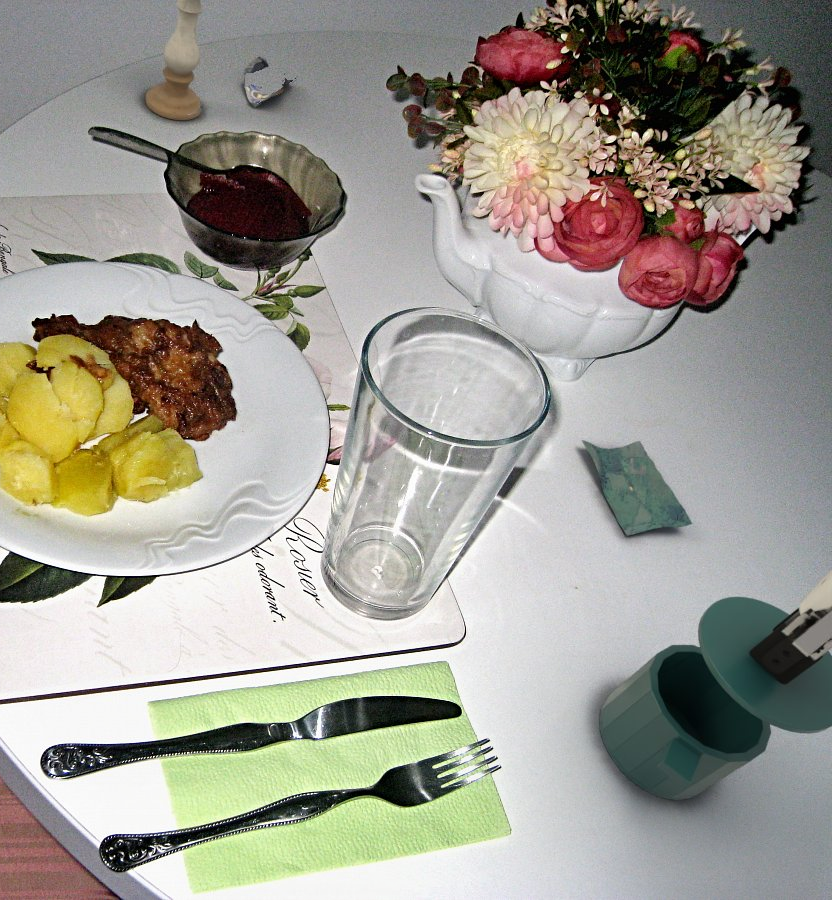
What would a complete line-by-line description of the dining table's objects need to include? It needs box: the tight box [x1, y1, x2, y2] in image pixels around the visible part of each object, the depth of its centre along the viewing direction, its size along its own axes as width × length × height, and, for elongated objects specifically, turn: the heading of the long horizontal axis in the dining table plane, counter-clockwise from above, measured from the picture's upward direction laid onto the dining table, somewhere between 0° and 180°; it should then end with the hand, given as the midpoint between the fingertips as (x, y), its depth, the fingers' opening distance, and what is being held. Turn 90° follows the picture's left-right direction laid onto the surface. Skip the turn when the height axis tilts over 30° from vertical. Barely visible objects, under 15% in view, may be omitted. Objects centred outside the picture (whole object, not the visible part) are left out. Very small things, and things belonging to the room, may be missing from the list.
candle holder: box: [145, 0, 204, 121], centre depth 131 cm, size 9×9×20 cm
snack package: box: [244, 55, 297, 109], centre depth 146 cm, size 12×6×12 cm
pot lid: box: [697, 596, 832, 735], centre depth 67 cm, size 11×11×7 cm
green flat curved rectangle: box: [581, 439, 693, 536], centre depth 102 cm, size 13×8×2 cm, turn 10°
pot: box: [599, 644, 772, 801], centre depth 78 cm, size 10×16×8 cm, turn 142°
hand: (780, 655), depth 68 cm, fingers closed on pot lid, 3 cm apart
